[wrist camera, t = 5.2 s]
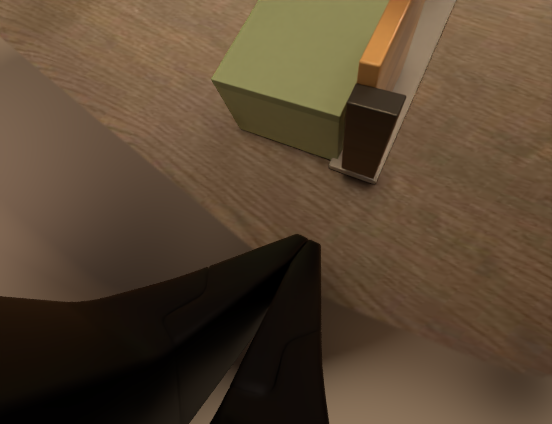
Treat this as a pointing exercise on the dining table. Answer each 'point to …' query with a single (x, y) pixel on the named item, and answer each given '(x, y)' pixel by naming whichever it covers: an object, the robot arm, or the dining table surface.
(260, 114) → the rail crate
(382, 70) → the sliding door
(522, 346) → the dining table surface
